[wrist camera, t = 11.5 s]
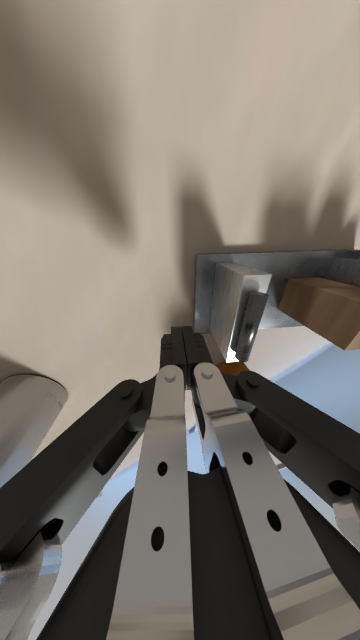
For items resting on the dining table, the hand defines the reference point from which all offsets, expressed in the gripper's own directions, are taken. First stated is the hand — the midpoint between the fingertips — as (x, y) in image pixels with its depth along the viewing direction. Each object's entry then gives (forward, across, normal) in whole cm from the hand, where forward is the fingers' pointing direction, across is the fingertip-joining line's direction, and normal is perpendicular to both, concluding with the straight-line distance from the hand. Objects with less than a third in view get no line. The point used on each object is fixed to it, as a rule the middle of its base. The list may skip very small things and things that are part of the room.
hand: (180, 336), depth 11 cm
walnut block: (+7, -16, 0) cm, 17 cm away
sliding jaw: (+8, -5, 0) cm, 9 cm away
